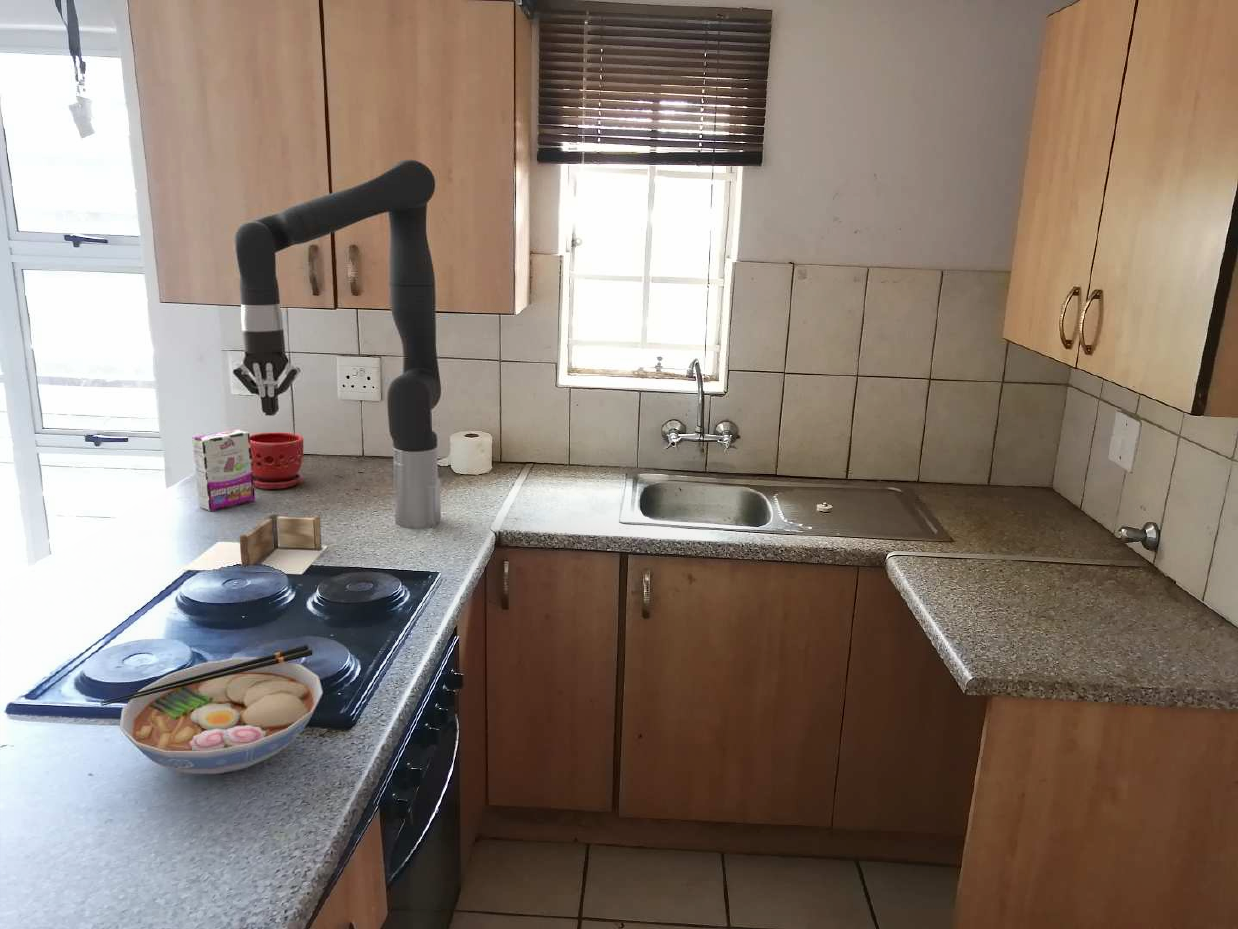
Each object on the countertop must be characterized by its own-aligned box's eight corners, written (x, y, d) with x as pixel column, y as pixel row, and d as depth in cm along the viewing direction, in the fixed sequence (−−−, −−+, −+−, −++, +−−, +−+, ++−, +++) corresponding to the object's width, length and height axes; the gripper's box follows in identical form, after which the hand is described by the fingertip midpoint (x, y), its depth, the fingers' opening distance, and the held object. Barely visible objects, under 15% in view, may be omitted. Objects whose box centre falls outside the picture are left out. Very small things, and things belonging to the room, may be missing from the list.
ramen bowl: (132, 841, 97) (124, 773, 95) (101, 740, 115) (94, 682, 112) (361, 766, 111) (358, 706, 109) (302, 688, 129) (298, 634, 127)
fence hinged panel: (268, 548, 179) (266, 517, 178) (274, 548, 179) (272, 517, 177) (240, 569, 168) (238, 536, 166) (246, 569, 168) (244, 537, 166)
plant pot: (287, 494, 216) (284, 445, 213) (237, 489, 218) (233, 440, 215) (315, 479, 228) (313, 433, 225) (267, 475, 230) (264, 428, 227)
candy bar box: (243, 496, 212) (238, 428, 208) (255, 501, 210) (250, 431, 205) (197, 507, 204) (191, 436, 200) (209, 512, 201) (203, 440, 197)
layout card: (328, 547, 182) (327, 545, 182) (301, 576, 168) (301, 573, 168) (218, 543, 182) (218, 541, 182) (182, 571, 168) (182, 569, 168)
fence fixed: (322, 548, 181) (321, 515, 179) (320, 550, 180) (318, 518, 178) (271, 546, 181) (269, 513, 179) (268, 548, 180) (266, 516, 178)
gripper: (303, 325, 181) (310, 411, 186) (236, 325, 181) (244, 410, 185) (290, 329, 174) (298, 418, 178) (220, 329, 174) (230, 418, 178)
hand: (270, 414), depth 182 cm, fingers closed
